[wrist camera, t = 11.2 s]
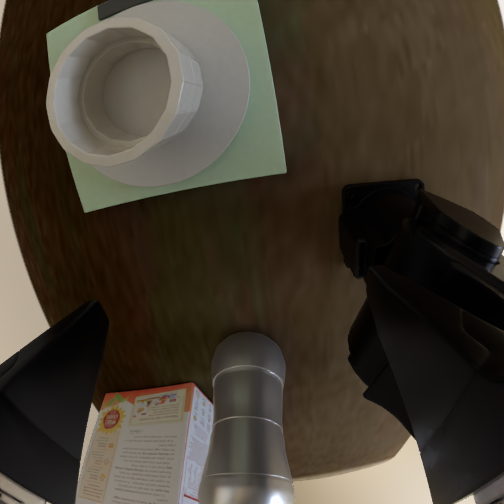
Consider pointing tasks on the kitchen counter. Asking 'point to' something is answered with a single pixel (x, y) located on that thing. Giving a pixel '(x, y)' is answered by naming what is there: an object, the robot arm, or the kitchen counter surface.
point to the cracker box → (148, 447)
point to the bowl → (122, 91)
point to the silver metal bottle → (247, 425)
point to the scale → (210, 108)
